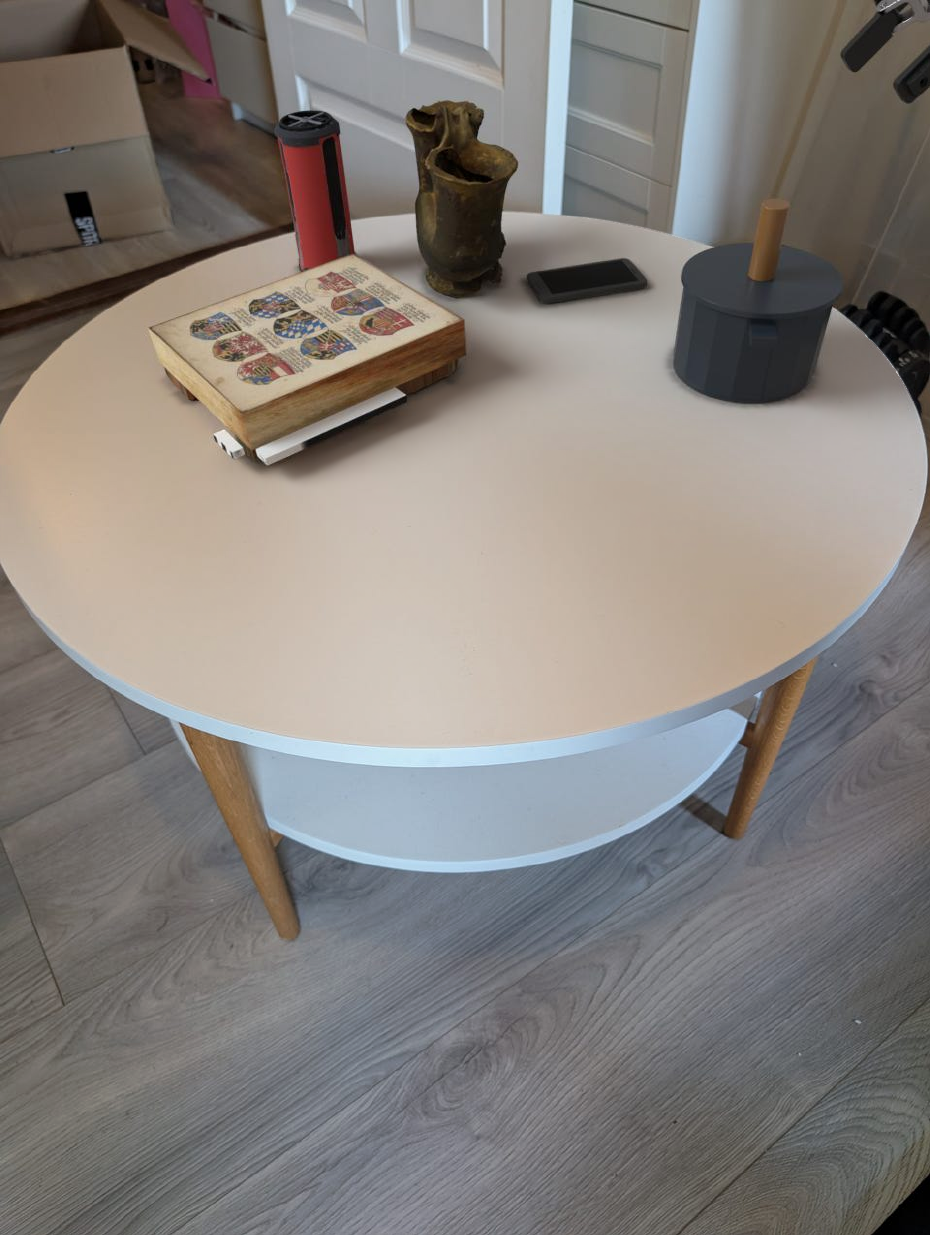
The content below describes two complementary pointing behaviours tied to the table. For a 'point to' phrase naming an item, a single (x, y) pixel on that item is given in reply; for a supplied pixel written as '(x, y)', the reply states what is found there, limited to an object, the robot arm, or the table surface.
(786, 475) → the table surface
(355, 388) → the book
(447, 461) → the table surface
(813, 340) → the pot
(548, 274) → the cell phone
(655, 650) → the table surface
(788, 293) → the lid
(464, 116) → the pottery vessel
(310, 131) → the speaker
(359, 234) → the table surface
